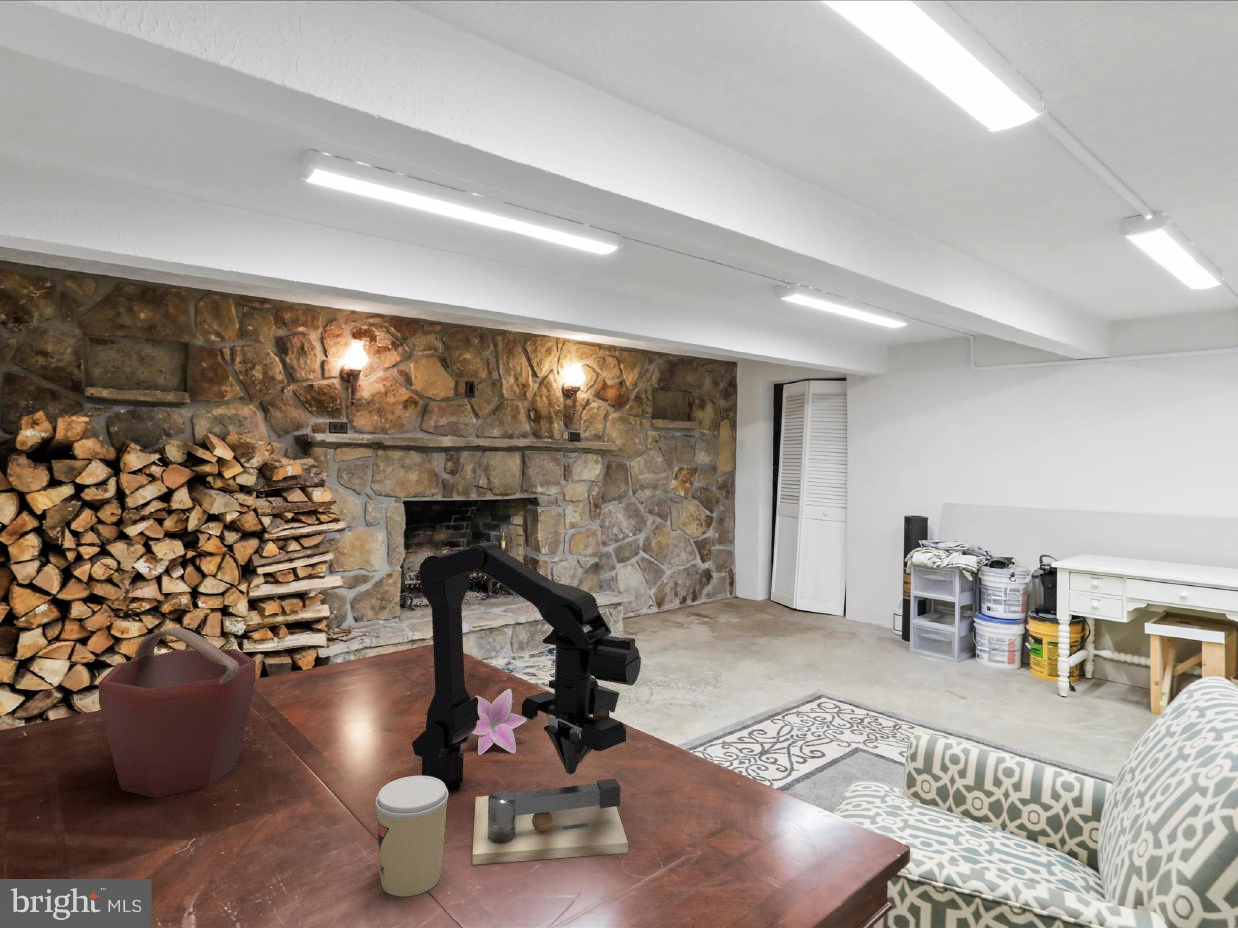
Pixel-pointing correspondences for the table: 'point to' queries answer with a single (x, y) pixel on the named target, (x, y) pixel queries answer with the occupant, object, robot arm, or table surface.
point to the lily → (497, 723)
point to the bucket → (176, 714)
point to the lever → (545, 804)
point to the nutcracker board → (551, 835)
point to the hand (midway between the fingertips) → (570, 772)
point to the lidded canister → (411, 834)
